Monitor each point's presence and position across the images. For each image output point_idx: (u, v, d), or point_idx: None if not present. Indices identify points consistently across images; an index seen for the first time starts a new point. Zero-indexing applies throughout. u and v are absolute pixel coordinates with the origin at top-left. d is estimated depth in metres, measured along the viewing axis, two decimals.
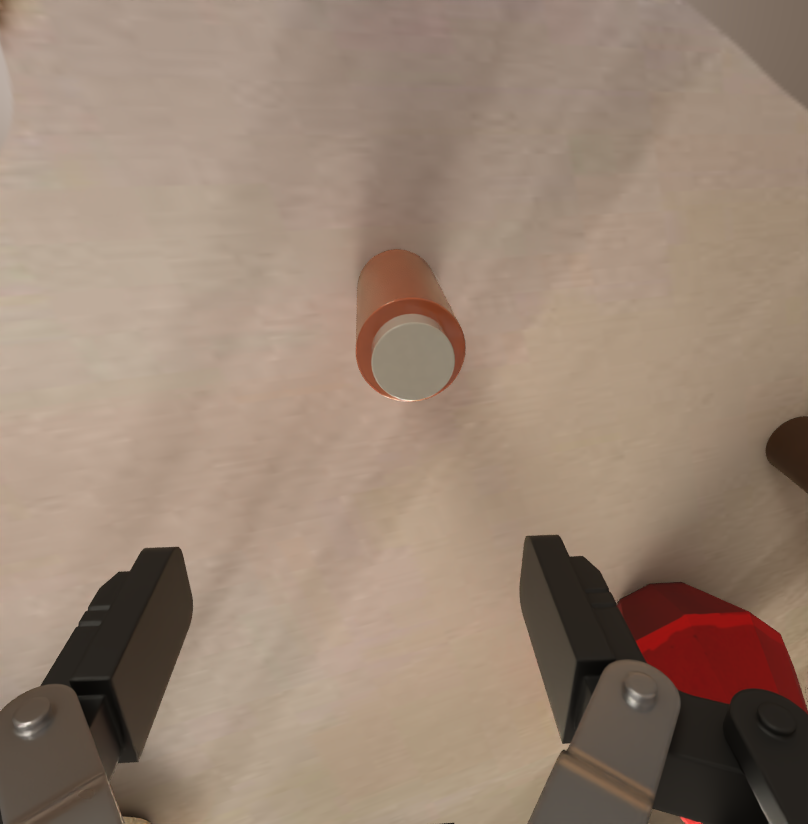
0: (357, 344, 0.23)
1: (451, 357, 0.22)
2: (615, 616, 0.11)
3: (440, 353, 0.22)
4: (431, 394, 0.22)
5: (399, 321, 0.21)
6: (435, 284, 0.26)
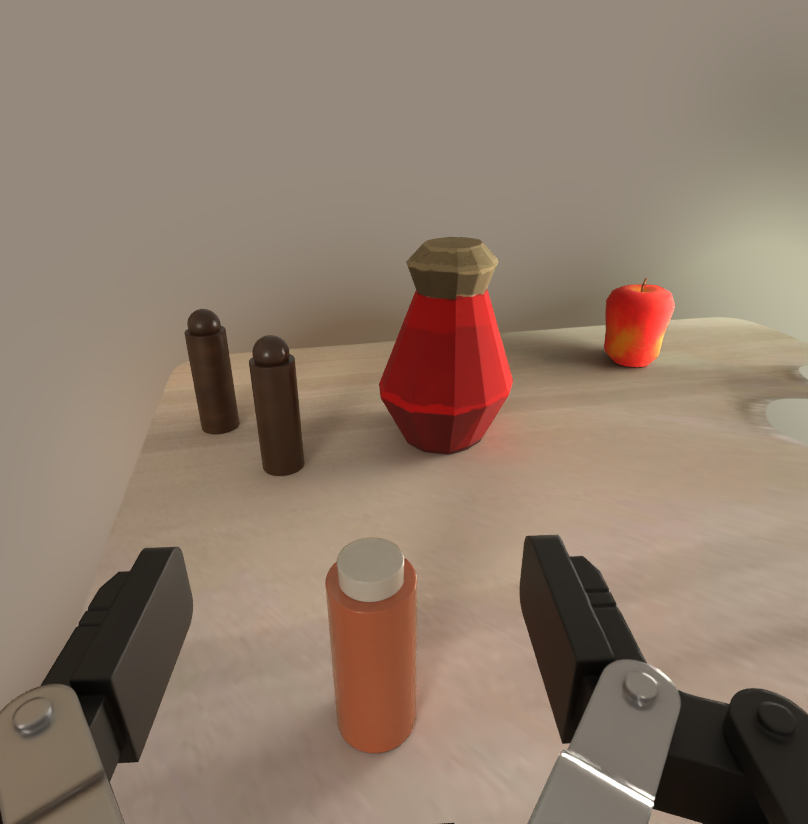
0: (395, 606, 0.26)
1: (348, 546, 0.28)
2: (615, 616, 0.11)
3: (351, 551, 0.28)
4: (381, 539, 0.28)
5: (352, 585, 0.26)
6: None
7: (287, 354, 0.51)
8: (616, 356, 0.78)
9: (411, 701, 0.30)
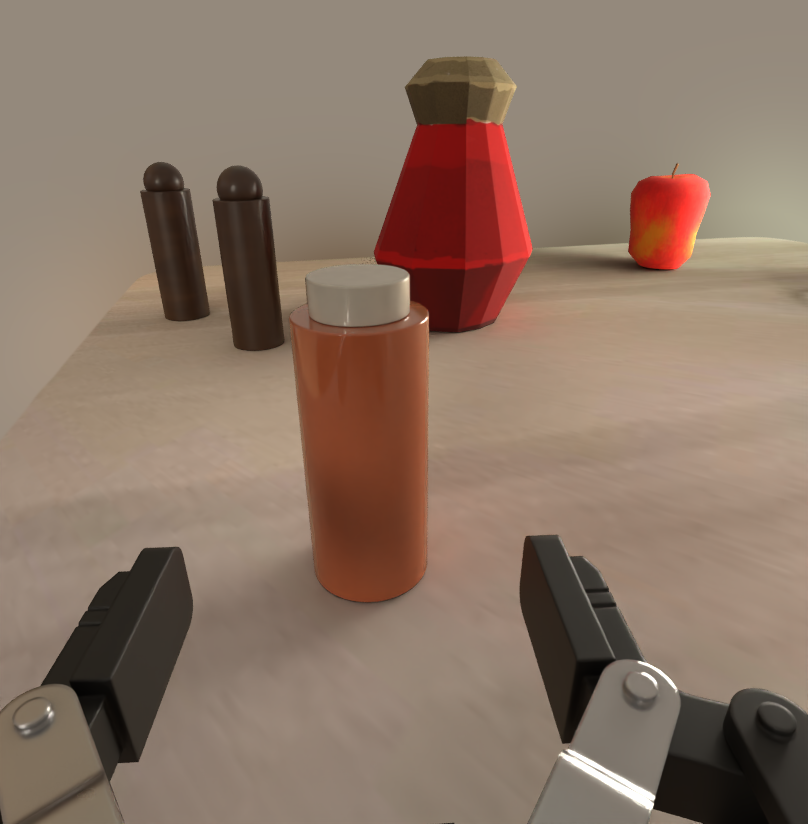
0: (396, 330, 0.16)
1: (324, 268, 0.18)
2: (615, 616, 0.11)
3: (328, 271, 0.18)
4: (375, 265, 0.19)
5: (328, 298, 0.16)
6: None
7: (259, 189, 0.41)
8: (643, 256, 0.69)
9: (421, 524, 0.20)
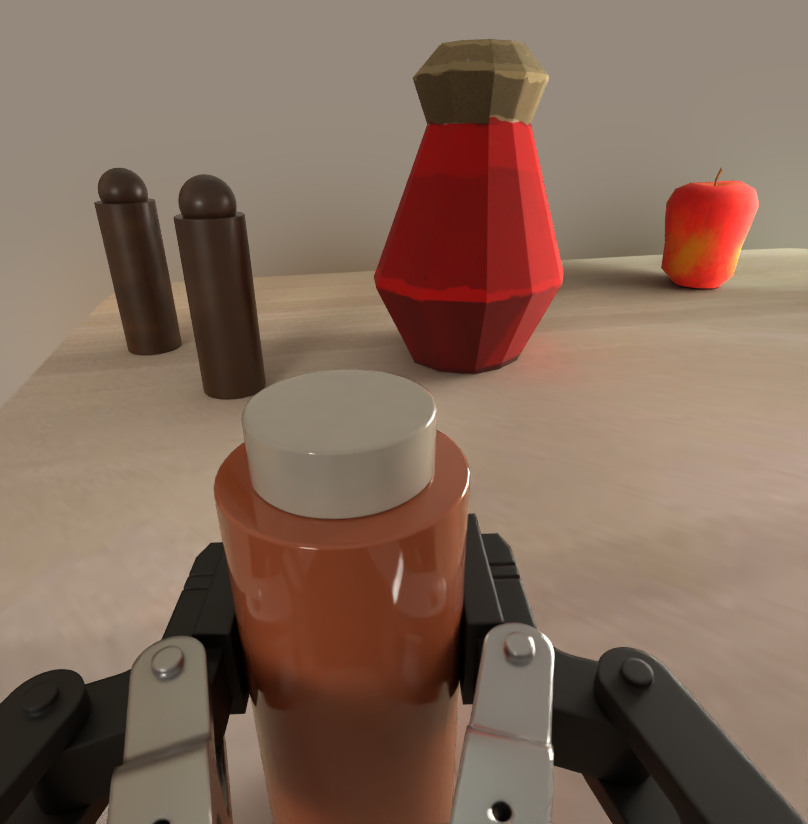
0: (412, 530, 0.08)
1: (283, 382, 0.10)
2: (516, 587, 0.12)
3: (287, 391, 0.10)
4: (373, 372, 0.11)
5: (279, 466, 0.08)
6: None
7: (232, 203, 0.33)
8: (680, 274, 0.60)
9: (447, 786, 0.12)
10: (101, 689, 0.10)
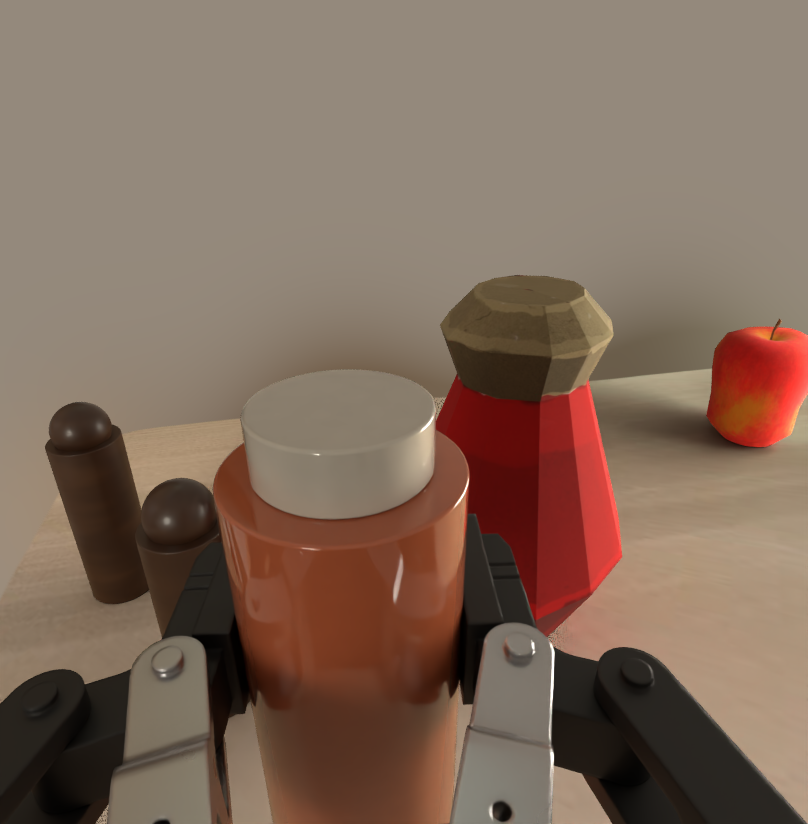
0: (412, 530, 0.08)
1: (282, 382, 0.10)
2: (516, 587, 0.12)
3: (286, 392, 0.10)
4: (372, 372, 0.11)
5: (278, 467, 0.08)
6: None
7: (211, 517, 0.25)
8: (731, 432, 0.53)
9: (447, 787, 0.12)
10: (101, 689, 0.10)
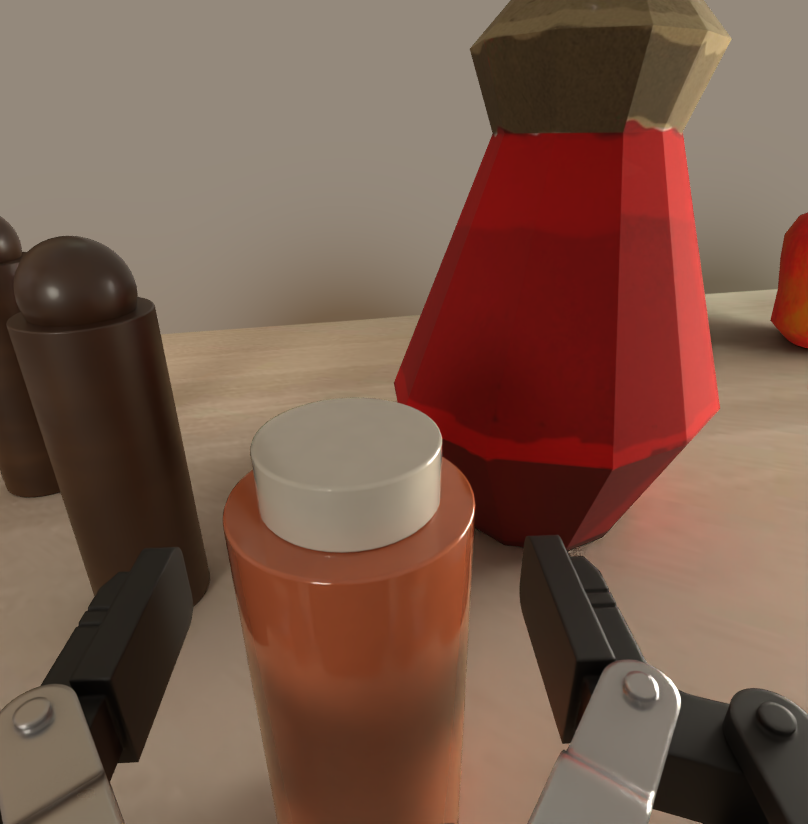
0: (419, 563, 0.09)
1: (290, 412, 0.10)
2: (615, 616, 0.11)
3: (294, 422, 0.10)
4: (379, 400, 0.11)
5: (288, 501, 0.09)
6: None
7: (123, 293, 0.17)
8: (805, 333, 0.44)
9: (453, 806, 0.13)
10: None
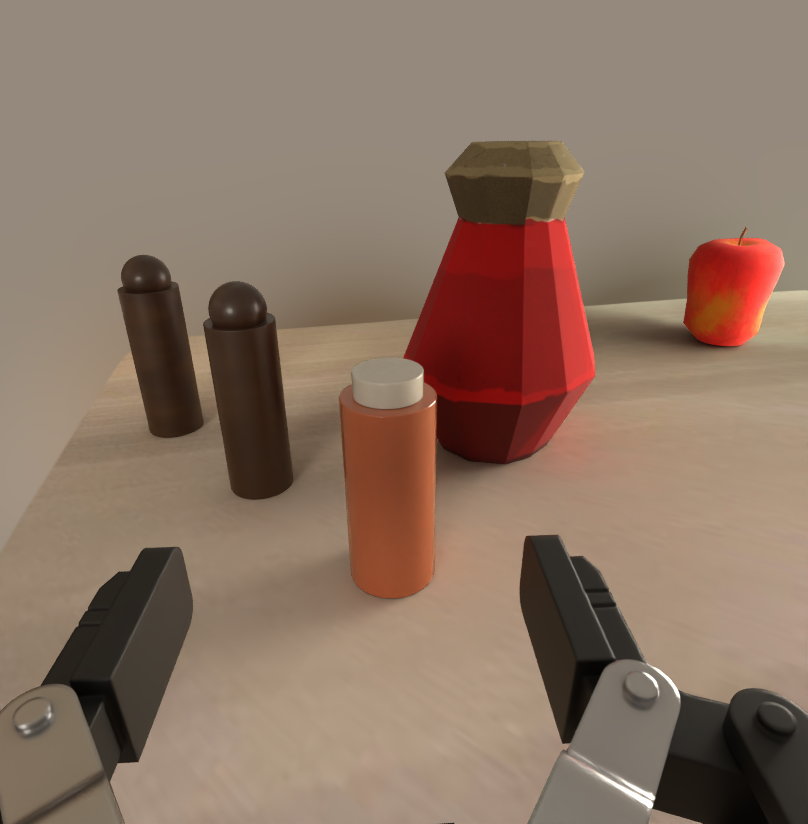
0: (414, 412, 0.24)
1: (363, 362, 0.26)
2: (615, 616, 0.11)
3: (366, 365, 0.26)
4: (398, 358, 0.26)
5: (368, 390, 0.24)
6: None
7: (263, 311, 0.32)
8: (704, 331, 0.60)
9: (430, 542, 0.28)
10: None
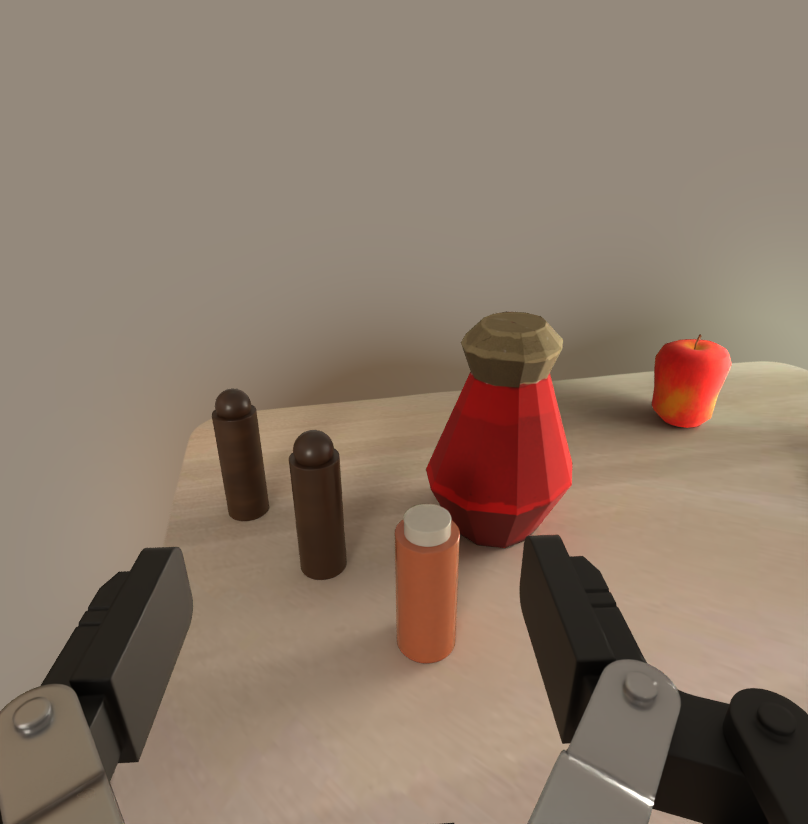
0: (446, 549, 0.37)
1: (410, 509, 0.39)
2: (615, 616, 0.11)
3: (412, 513, 0.39)
4: (433, 504, 0.39)
5: (416, 535, 0.37)
6: None
7: (332, 452, 0.45)
8: (667, 416, 0.73)
9: (453, 625, 0.41)
10: None
